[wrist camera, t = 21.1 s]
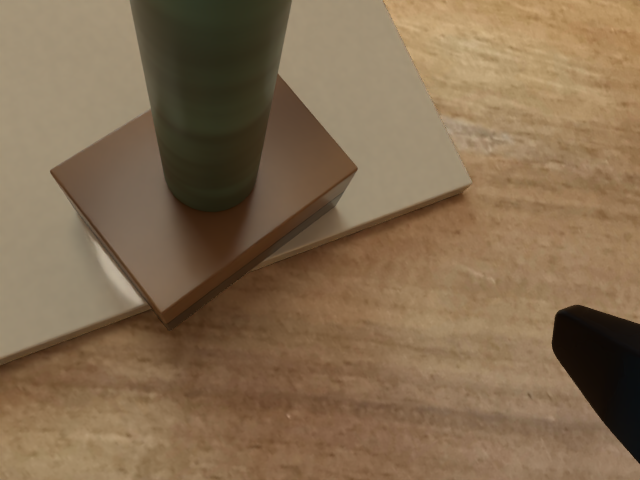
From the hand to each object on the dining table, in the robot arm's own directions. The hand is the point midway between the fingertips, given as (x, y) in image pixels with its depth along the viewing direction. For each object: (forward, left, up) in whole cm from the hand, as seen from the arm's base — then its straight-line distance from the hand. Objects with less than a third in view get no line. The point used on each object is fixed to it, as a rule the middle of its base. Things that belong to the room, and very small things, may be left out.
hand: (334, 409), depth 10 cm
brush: (+6, -3, -9) cm, 11 cm away
